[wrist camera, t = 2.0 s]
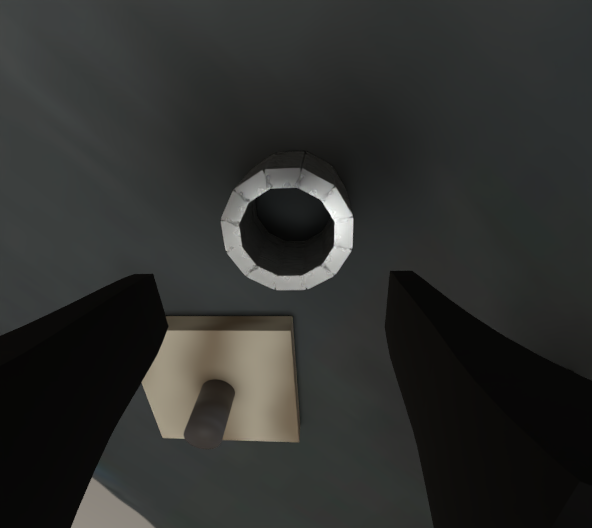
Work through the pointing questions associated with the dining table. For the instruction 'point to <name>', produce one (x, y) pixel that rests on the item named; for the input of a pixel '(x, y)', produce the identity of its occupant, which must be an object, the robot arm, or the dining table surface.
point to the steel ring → (274, 251)
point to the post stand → (225, 380)
